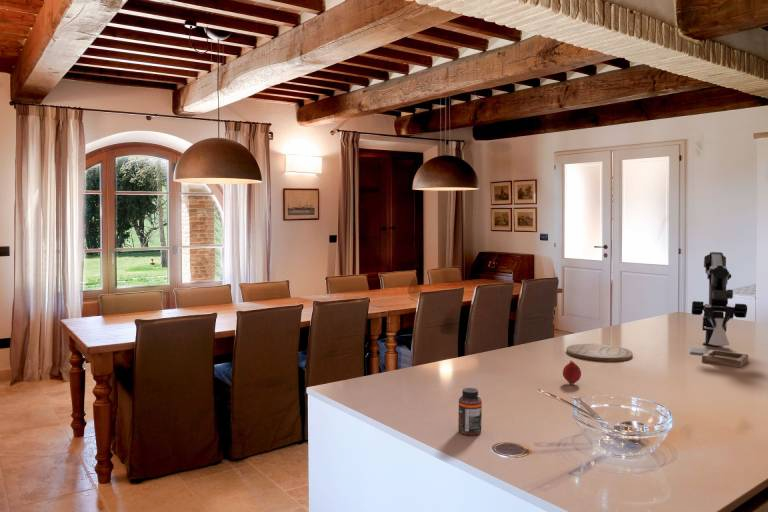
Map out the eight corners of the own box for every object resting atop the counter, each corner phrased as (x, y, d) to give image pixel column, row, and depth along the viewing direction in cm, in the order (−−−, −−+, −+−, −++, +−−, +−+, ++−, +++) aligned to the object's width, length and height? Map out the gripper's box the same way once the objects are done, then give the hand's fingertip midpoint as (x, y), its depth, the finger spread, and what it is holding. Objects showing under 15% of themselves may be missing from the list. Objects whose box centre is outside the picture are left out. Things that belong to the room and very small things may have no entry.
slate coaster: (691, 349, 259) (692, 347, 259) (716, 351, 255) (716, 350, 255) (689, 353, 252) (690, 351, 251) (715, 356, 247) (715, 354, 247)
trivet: (563, 359, 244) (563, 354, 244) (569, 346, 267) (569, 341, 267) (632, 365, 234) (632, 360, 234) (632, 351, 257) (633, 346, 257)
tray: (710, 355, 248) (710, 349, 248) (747, 361, 240) (748, 354, 240) (701, 361, 238) (702, 355, 238) (740, 367, 230) (740, 360, 230)
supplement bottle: (456, 428, 166) (456, 386, 165) (478, 427, 166) (478, 386, 165) (460, 436, 160) (461, 393, 159) (483, 436, 160) (484, 392, 159)
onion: (581, 382, 210) (581, 359, 209) (580, 387, 204) (581, 363, 203) (562, 381, 211) (563, 357, 211) (561, 385, 206) (562, 361, 205)
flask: (713, 341, 244) (713, 316, 244) (732, 344, 239) (733, 318, 238) (704, 344, 240) (705, 318, 239) (724, 347, 234) (725, 320, 234)
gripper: (693, 280, 245) (692, 313, 236) (748, 283, 237) (749, 316, 228) (691, 297, 253) (691, 329, 244) (744, 300, 245) (746, 333, 236)
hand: (719, 327), depth 238 cm, fingers closed on flask, 3 cm apart
